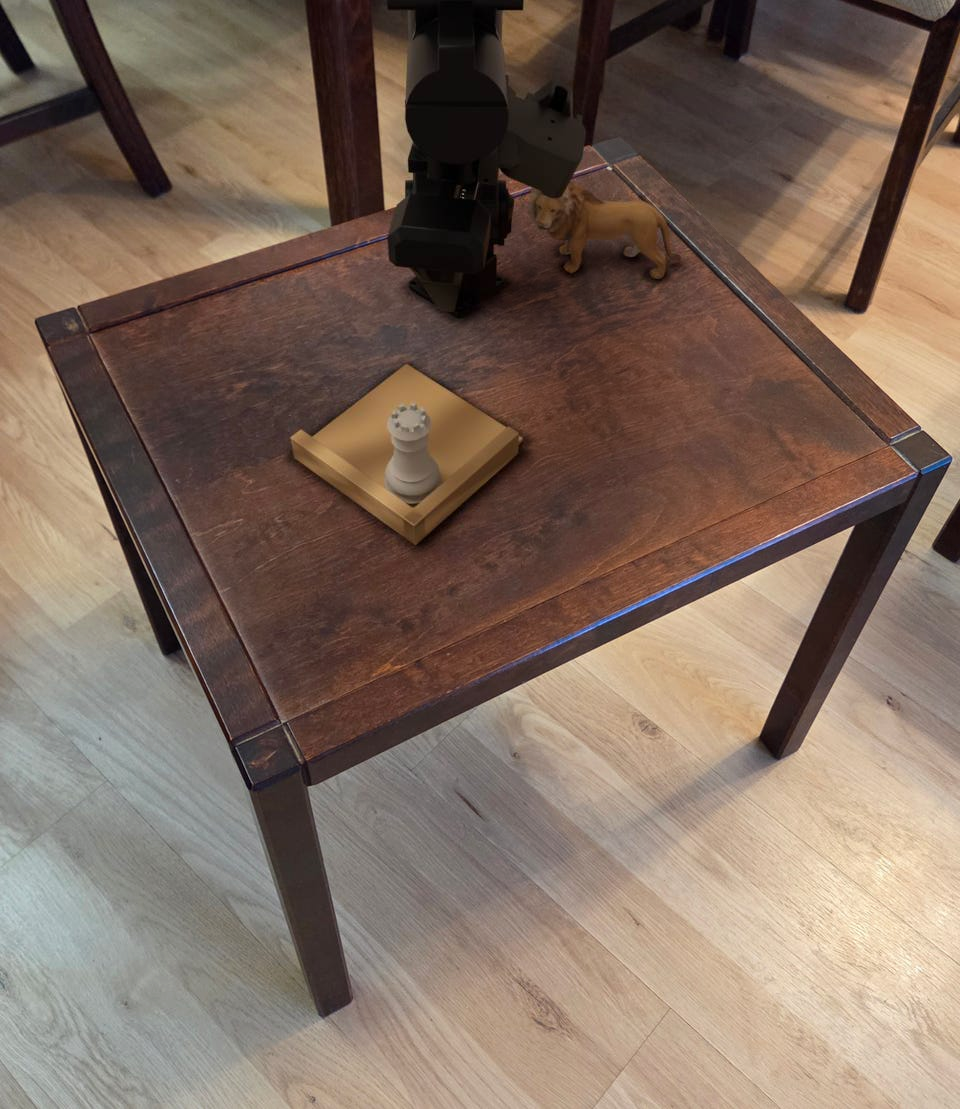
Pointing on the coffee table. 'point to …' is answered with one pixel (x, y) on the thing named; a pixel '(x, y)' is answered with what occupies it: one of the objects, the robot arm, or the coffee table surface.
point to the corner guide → (366, 447)
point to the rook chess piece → (411, 456)
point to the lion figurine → (600, 224)
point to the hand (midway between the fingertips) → (456, 268)
